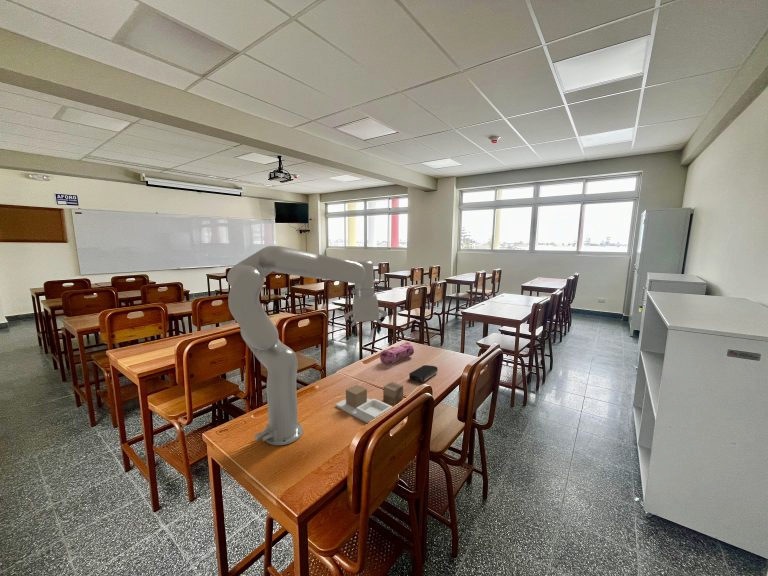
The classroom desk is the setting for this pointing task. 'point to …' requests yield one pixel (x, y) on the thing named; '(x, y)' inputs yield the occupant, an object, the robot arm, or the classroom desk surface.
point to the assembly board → (362, 404)
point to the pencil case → (396, 353)
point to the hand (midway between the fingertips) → (366, 333)
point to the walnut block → (393, 392)
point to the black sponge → (423, 373)
